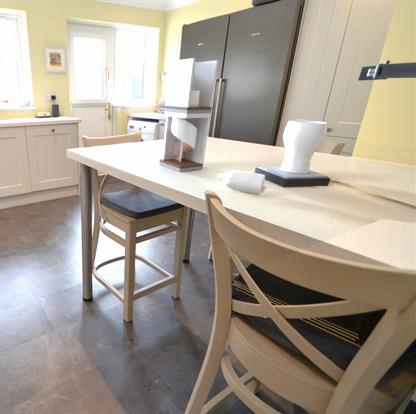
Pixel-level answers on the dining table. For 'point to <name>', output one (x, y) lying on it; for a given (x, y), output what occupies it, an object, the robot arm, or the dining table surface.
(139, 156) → the dining table surface
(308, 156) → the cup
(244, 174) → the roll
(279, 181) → the scale
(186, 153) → the white wooden shelf unit
